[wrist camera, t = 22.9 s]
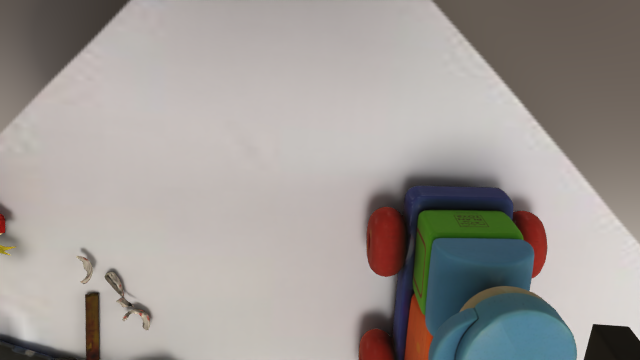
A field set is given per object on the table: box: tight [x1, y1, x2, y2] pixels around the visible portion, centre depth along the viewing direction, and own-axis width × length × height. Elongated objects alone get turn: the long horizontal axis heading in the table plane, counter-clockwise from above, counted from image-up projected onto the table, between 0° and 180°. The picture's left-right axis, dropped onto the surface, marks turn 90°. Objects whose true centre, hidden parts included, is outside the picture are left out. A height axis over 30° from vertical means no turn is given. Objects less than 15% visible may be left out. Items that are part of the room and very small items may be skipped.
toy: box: [77, 256, 150, 330], centre depth 47 cm, size 1×8×2 cm
